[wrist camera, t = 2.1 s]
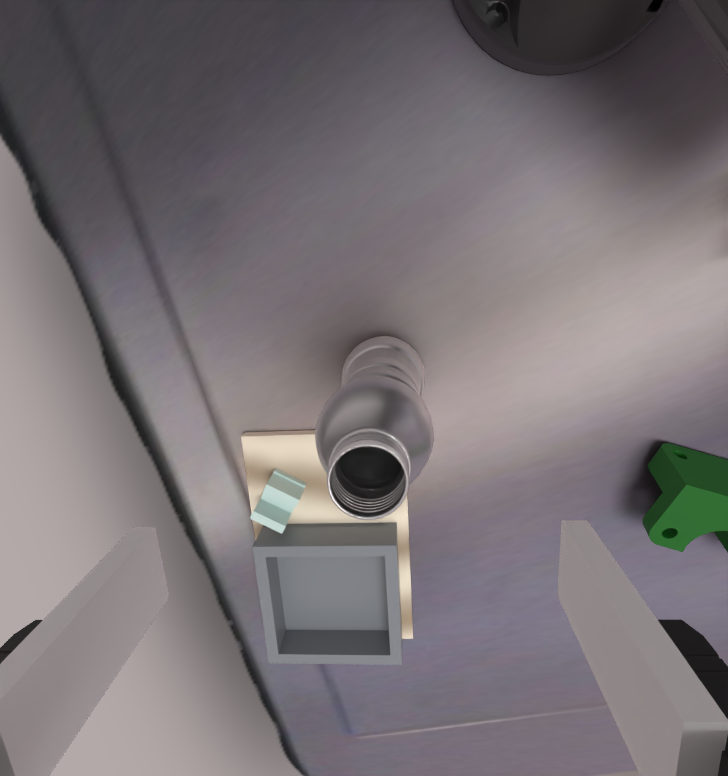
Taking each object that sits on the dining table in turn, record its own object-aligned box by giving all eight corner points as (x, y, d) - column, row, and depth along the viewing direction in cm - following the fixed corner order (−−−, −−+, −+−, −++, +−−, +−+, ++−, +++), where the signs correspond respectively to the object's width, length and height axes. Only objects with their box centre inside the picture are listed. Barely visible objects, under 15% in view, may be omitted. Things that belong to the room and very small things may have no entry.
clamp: (627, 472, 45) (619, 528, 38) (662, 422, 42) (660, 472, 35) (768, 543, 41) (789, 620, 34) (819, 493, 38) (854, 566, 31)
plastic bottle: (437, 350, 39) (472, 445, 20) (402, 421, 41) (403, 571, 22) (364, 317, 39) (328, 382, 19) (332, 391, 41) (271, 515, 21)
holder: (264, 524, 43) (252, 546, 40) (396, 522, 42) (396, 545, 39) (278, 633, 47) (268, 663, 43) (402, 634, 46) (402, 664, 42)
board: (244, 432, 42) (241, 436, 41) (404, 427, 41) (404, 431, 40) (271, 629, 48) (268, 637, 47) (412, 630, 47) (412, 638, 46)
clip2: (275, 467, 42) (267, 482, 39) (306, 483, 42) (300, 498, 39) (258, 504, 43) (248, 520, 40) (288, 518, 43) (281, 535, 40)
